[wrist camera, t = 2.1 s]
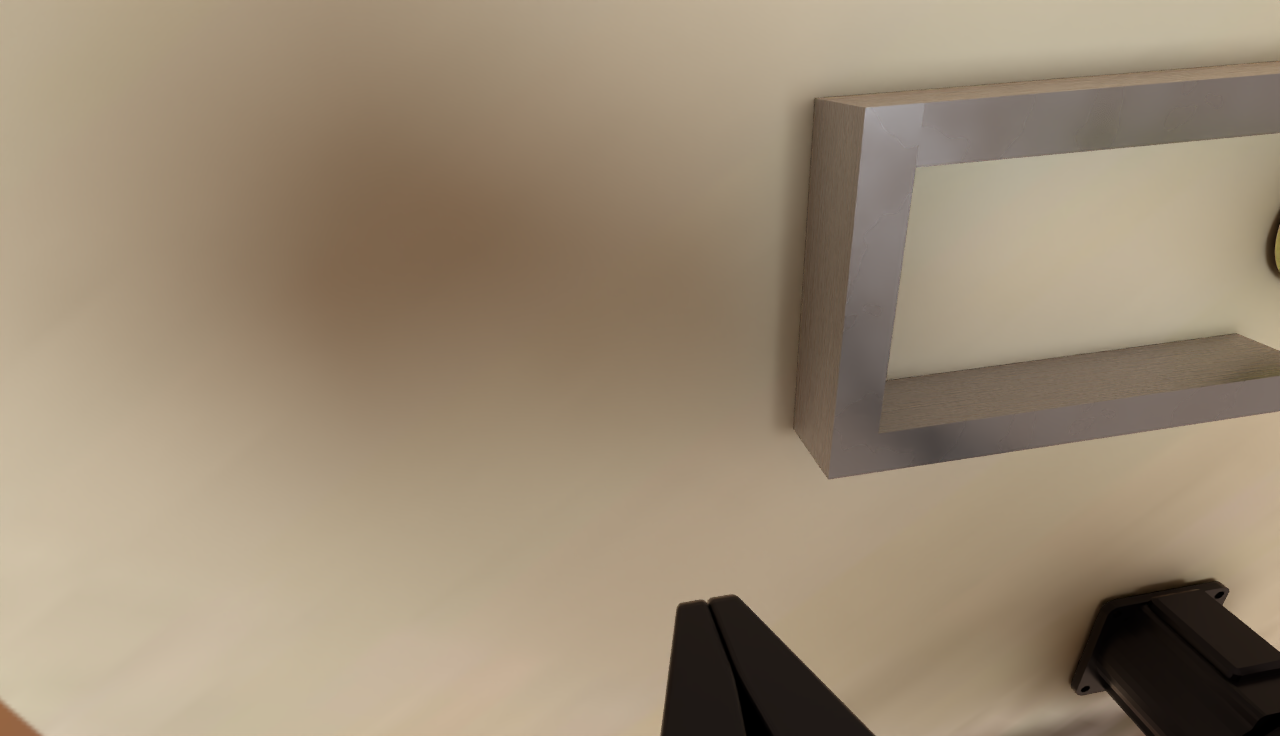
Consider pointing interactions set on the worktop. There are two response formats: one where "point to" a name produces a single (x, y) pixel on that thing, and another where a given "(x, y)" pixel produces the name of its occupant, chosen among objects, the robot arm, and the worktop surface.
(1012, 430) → the u collar
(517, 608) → the worktop surface
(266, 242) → the worktop surface
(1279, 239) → the tube
